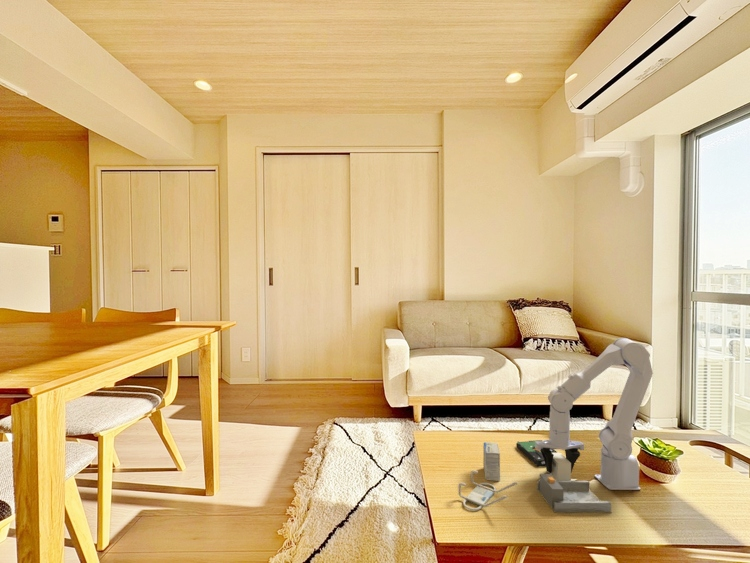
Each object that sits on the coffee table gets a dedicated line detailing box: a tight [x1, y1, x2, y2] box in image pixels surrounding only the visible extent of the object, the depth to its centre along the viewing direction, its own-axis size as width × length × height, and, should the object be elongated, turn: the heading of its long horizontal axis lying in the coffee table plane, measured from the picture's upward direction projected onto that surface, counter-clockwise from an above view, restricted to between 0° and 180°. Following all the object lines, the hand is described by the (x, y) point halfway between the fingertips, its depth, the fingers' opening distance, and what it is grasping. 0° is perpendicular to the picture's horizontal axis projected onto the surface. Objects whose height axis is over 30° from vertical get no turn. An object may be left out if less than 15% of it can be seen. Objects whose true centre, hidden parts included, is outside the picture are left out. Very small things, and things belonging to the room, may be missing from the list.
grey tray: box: [536, 480, 612, 514], centre depth 109 cm, size 15×11×3 cm
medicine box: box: [482, 441, 501, 482], centre depth 122 cm, size 8×4×9 cm, turn 168°
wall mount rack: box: [458, 470, 518, 511], centre depth 108 cm, size 16×14×6 cm
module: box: [549, 452, 572, 481], centre depth 122 cm, size 4×7×6 cm, turn 0°
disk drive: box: [515, 439, 559, 468], centre depth 136 cm, size 10×3×15 cm
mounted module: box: [539, 473, 564, 507], centre depth 109 cm, size 3×8×6 cm, turn 0°
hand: (558, 471), depth 122 cm, fingers open, 6 cm apart
